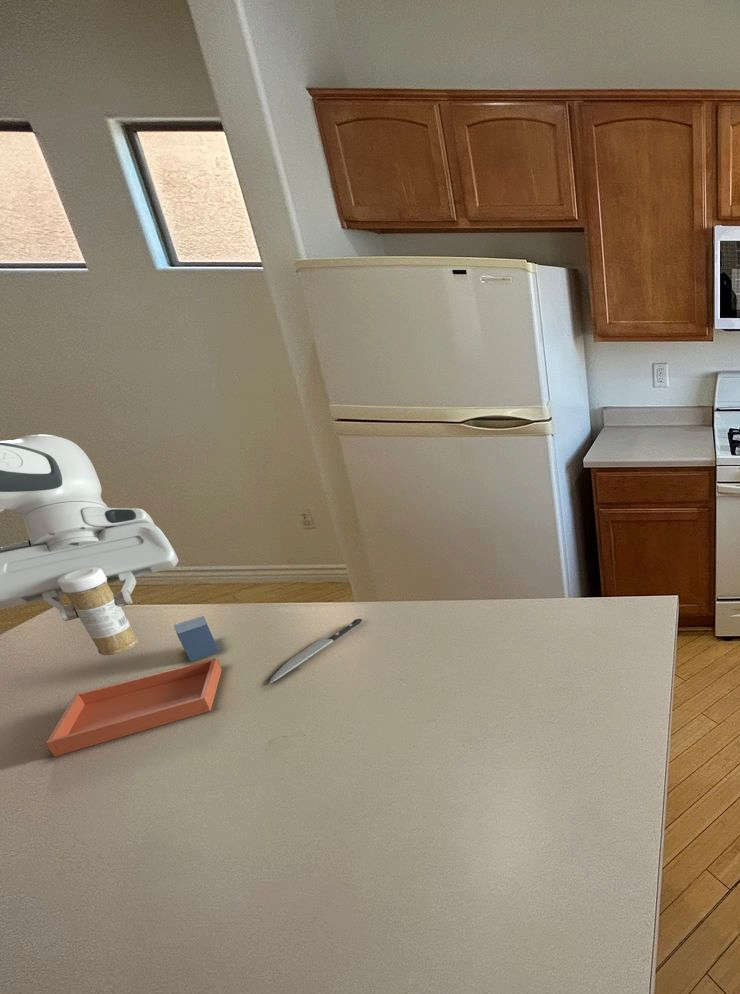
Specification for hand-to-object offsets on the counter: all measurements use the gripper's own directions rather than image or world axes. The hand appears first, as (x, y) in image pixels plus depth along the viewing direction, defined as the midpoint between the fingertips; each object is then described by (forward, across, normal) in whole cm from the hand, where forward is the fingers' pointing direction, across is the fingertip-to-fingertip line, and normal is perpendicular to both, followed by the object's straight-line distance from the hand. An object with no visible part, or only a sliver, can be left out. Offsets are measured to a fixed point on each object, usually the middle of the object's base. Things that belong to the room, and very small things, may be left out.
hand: (99, 611), depth 83 cm
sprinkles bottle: (+5, 0, +6) cm, 7 cm away
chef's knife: (+15, +22, +8) cm, 28 cm away
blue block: (+6, +8, +17) cm, 20 cm away
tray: (+15, 0, +8) cm, 17 cm away
